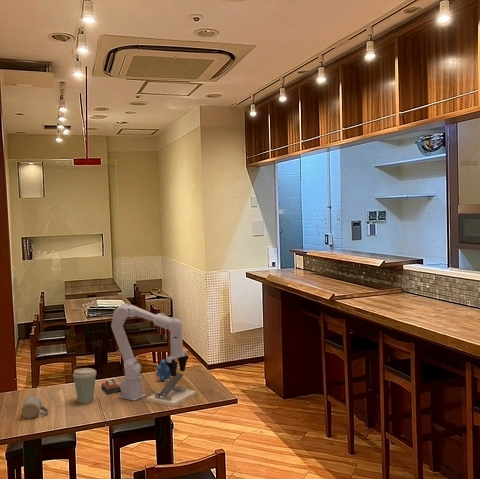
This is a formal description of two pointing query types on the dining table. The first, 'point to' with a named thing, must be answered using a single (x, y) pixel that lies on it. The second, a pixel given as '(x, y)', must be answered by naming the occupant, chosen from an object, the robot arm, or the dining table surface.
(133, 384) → the robot arm
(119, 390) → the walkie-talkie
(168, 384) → the strap
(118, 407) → the dining table surface
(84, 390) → the disposable coffee cup
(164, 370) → the grapes
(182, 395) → the latch base plate
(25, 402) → the ceramic mug
